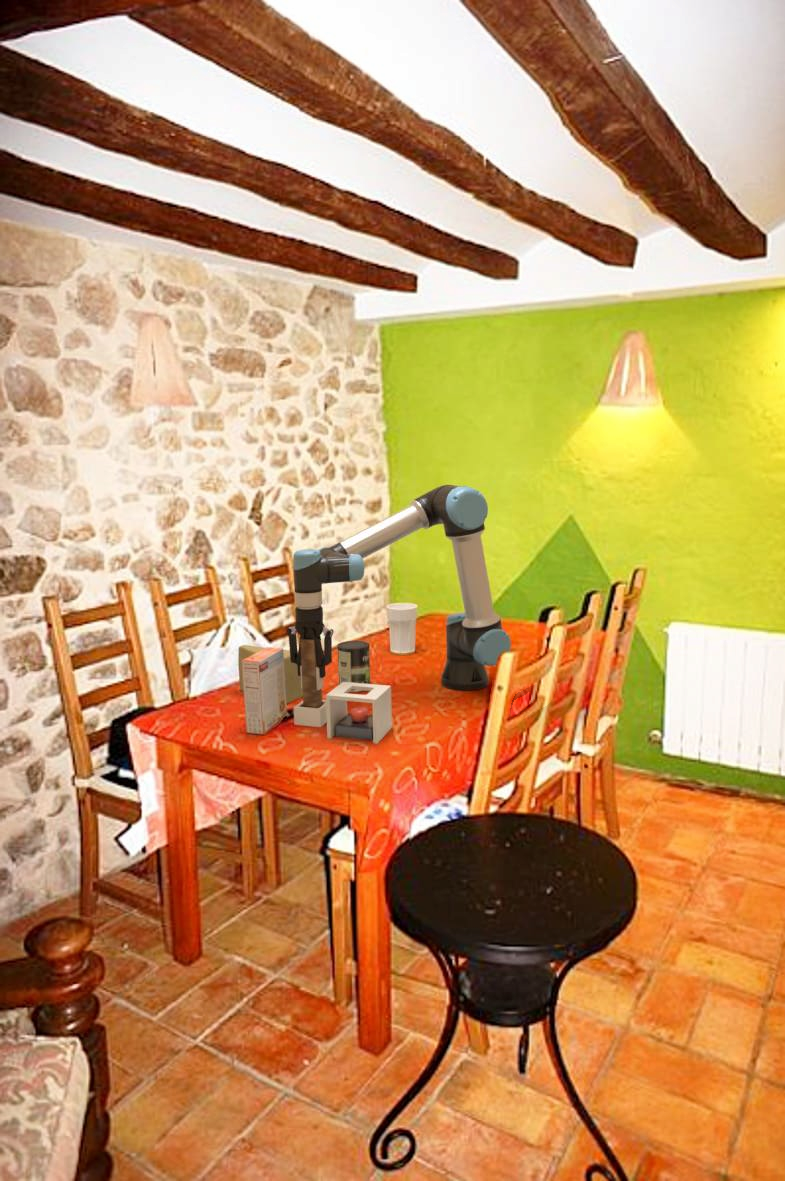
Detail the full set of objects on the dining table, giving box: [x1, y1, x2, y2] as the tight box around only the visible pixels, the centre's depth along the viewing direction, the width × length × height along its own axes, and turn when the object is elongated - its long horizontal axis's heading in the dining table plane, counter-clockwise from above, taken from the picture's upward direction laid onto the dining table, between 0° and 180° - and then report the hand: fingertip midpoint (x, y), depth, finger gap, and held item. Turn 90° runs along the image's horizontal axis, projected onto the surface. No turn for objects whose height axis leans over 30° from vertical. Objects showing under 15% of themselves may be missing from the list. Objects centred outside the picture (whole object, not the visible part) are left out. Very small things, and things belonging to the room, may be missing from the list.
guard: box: [325, 682, 393, 745], centre depth 216 cm, size 14×12×12 cm
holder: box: [293, 699, 327, 728], centre depth 226 cm, size 8×8×5 cm
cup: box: [386, 602, 418, 656], centre depth 295 cm, size 11×11×17 cm
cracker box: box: [241, 646, 288, 736], centre depth 222 cm, size 14×6×21 cm, turn 160°
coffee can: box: [336, 640, 371, 693], centre depth 255 cm, size 10×10×14 cm
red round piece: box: [350, 706, 369, 723], centre depth 216 cm, size 5×5×6 cm
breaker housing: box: [335, 712, 373, 742], centre depth 217 cm, size 10×9×4 cm
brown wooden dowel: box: [299, 638, 323, 708], centre depth 224 cm, size 4×4×22 cm
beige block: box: [237, 644, 303, 704], centre depth 249 cm, size 22×10×15 cm, turn 57°
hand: (312, 687), depth 225 cm, fingers closed on brown wooden dowel, 4 cm apart
